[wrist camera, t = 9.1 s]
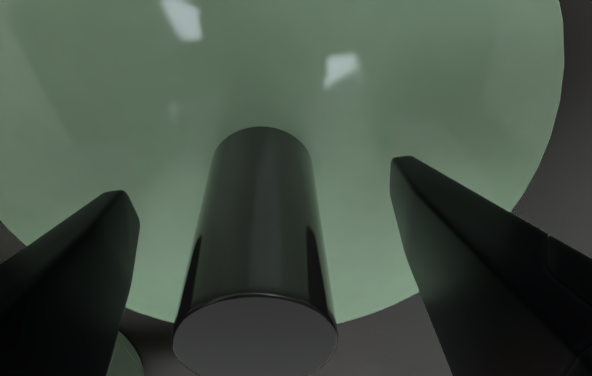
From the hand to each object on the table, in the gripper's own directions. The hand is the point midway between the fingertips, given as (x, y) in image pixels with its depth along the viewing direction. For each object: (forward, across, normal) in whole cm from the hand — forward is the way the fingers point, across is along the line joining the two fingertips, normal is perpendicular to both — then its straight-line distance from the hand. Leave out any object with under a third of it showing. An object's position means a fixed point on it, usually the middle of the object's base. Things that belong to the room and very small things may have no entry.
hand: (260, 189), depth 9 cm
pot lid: (+1, 0, 0) cm, 1 cm away
